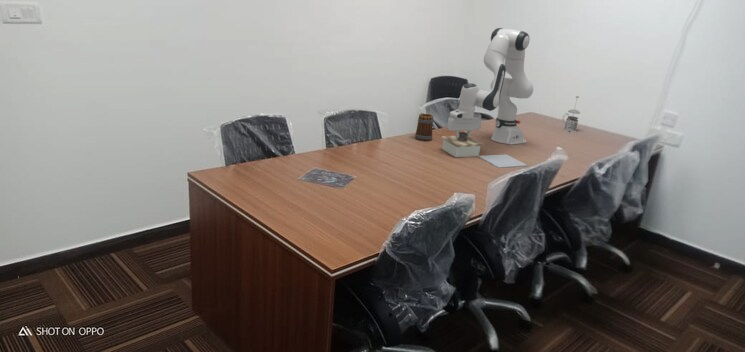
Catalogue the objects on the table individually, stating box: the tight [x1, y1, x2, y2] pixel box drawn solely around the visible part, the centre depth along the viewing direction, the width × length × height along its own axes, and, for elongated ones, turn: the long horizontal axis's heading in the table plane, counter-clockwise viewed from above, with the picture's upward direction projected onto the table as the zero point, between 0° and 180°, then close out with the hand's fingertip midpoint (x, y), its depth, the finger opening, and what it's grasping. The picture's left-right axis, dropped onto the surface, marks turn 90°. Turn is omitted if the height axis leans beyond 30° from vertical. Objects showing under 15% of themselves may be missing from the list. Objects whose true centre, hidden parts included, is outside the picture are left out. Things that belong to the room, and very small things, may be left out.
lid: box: [441, 131, 484, 147], centre depth 281 cm, size 17×17×5 cm
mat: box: [477, 153, 528, 169], centre depth 275 cm, size 19×19×1 cm
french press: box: [562, 95, 581, 133], centre depth 354 cm, size 10×12×25 cm
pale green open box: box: [441, 139, 481, 158], centre depth 283 cm, size 15×15×6 cm
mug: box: [414, 112, 434, 142], centre depth 306 cm, size 16×11×15 cm
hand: (462, 137), depth 281 cm, fingers closed on lid, 4 cm apart
